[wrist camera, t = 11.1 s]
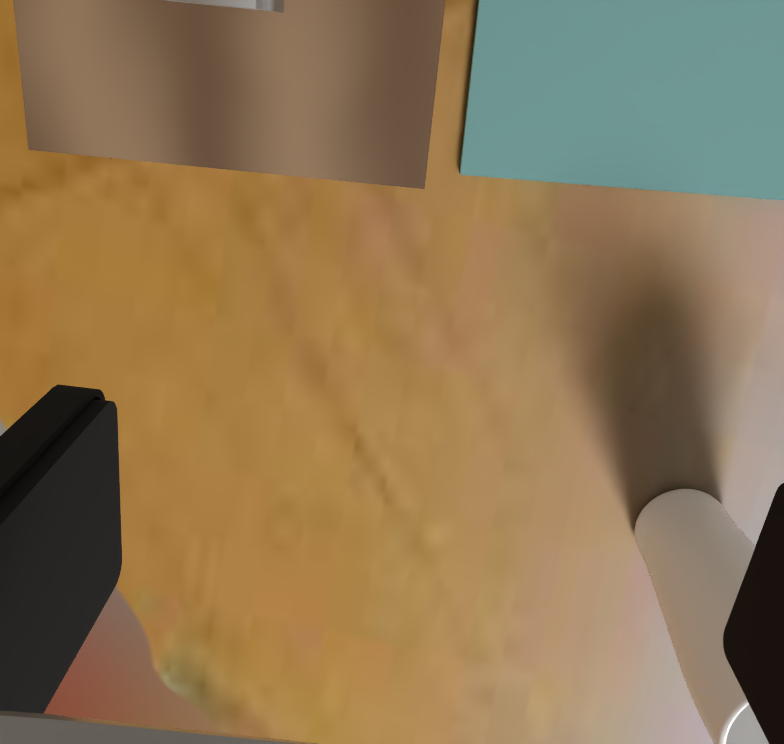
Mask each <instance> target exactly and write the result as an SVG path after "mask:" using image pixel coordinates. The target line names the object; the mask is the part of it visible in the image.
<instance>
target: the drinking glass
mask: <svg viewBox="0 0 784 744" xmlns="http://www.w3.org/2000/svg"><path fill="white" fill-rule="evenodd" d="M635 540H636V544H637V547H638V549H639V551H640V553H641V555H642V558H643V560H644V562H645V564H646V567H647V570H648V573H649V576H650V579H651V581H652V584H653V587H654V590H655V593H656V596H657V599H658V602H659V605H660V608H661V611H662V614H663V617H664V620H665V623H666V626H667V629H668V632H669V635H670V638H671V641H672V644H673V647H674V650H675V653H676V656H677V659H678V662H679V665H680V668H681V671H682V674H683V676H684V679H685V682H686V684H687V687H688V689H689V692H690V694H691V697H692V699H693V701H694V704H695V706H696V708H697V710H698V713H699V715H700V717H701V719H702V721H703V723H704V725H705V727H706V729H707V731H708V733H709V735H710V737H711V739H712V741H713V743H714V744H769V743H768V741H767V739H766V737H765V735H764V733H763V731H762V729H761V727H760V725H759V723H758V721H757V719H756V717H755V715H754V713H753V711H752V709H751V707H750V705H749V703H748V701H747V699H746V697H745V695H744V693H743V691H742V689H741V687H740V685H739V683H738V681H737V679H736V677H735V675H734V673H733V671H732V669H731V667H730V665H729V663H728V661H727V659H726V656H725V653H724V648H723V633H724V630H725V626H726V624H727V621H728V619H729V616H730V613H731V611H732V608H733V605H734V603H735V600H736V597H737V595H738V592H739V589H740V587H741V584H742V581H743V579H744V576H745V573H746V571H747V568H748V565H749V563H750V560H751V557H752V555H753V552H754V549H755V547H756V546H755V545H754V544H753V543H752V541H751V540H750V539H749V538H748V537H747V536H746V535H745V534H744V532H743V531H742V530H741V529H740V528H739V527H738V526H737V524H736V523H735V522H734V521H733V520H732V518H731V517H730V515H729V514H728V513H727V511H726V510H725V508H724V507H723V506H722V505H721V503H720V502H719V501H718V500H716V499H715V498H714V497H712V496H711V495H709V494H707V493H705V492H702V491H699V490H695V489H676V490H671V491H668V492H665V493H663V494H661V495H659V496H657V497H655V498H654V499H653V500H651V501H650V502H649V503H648V504H647V505H646V506H645V507H644V508H643V509H642V511H641V512H640V514H639V516H638V518H637V521H636V524H635Z"/></svg>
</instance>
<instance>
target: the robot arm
mask: <svg viewBox="0 0 784 744" xmlns="http://www.w3.org/2000/svg"><path fill="white" fill-rule="evenodd" d="M121 565H122V545H121V514H120V484H119V453H118V422H117V408H116V405H115V403H114V402H113V401H105V397H104V395H103V392H102V391H101V390H99V389H91V388H82V387H74V386H66V385H56V386H55V387H53V388H52V389H51V390H50V391H49V392H48V393H47V394H46V395H44V396H43V397H42V398H41V399H40V400H39V401H38V402H37V403H36V404H35V405H34V406H33V407H31V408H30V409H29V410H28V411H27V412H26V413H25V414H24V415H23V416H22V417H21V418H20V419H19V420H17V421H16V422H15V423H14V424H13V425H12V426H11V427H10V428H9V429H8V430H7V431H6V432H5V433H3V434H2V435H1V436H0V744H317V743H308V742H299V741H290V740H281V739H271V738H262V737H253V736H244V735H235V734H225V733H216V732H207V731H198V730H188V729H179V728H170V727H161V726H151V725H143V724H132V723H124V722H115V721H105V720H97V719H87V718H78V717H69V716H60V715H51V714H43V713H44V711H45V710H46V708H47V706H48V704H49V703H50V701H51V699H52V697H53V695H54V694H55V692H56V690H57V688H58V687H59V685H60V683H61V681H62V680H63V678H64V676H65V674H66V673H67V671H68V669H69V667H70V665H71V664H72V662H73V660H74V658H75V657H76V655H77V653H78V651H79V649H80V648H81V646H82V644H83V643H84V641H85V639H86V637H87V636H88V634H89V632H90V630H91V628H92V627H93V625H94V623H95V621H96V620H97V618H98V616H99V614H100V613H101V611H102V609H103V607H104V605H105V604H106V602H107V600H108V598H109V597H110V595H111V593H112V591H113V590H114V588H115V586H116V584H117V581H118V578H119V575H120V571H121ZM723 648H724V653H725V656H726V659H727V661H728V663H729V665H730V667H731V669H732V671H733V673H734V675H735V677H736V679H737V681H738V683H739V685H740V687H741V689H742V691H743V693H744V695H745V697H746V699H747V701H748V703H749V705H750V707H751V709H752V711H753V713H754V715H755V717H756V719H757V721H758V723H759V725H760V727H761V729H762V731H763V733H764V735H765V737H766V739H767V741H768V743H769V744H784V483H783V484H781V485H780V486H779V487H778V489H777V491H776V493H775V496H774V499H773V501H772V504H771V507H770V509H769V512H768V515H767V517H766V520H765V523H764V525H763V528H762V531H761V533H760V536H759V539H758V541H757V544H756V547H755V549H754V552H753V555H752V557H751V560H750V563H749V565H748V568H747V571H746V573H745V576H744V579H743V581H742V584H741V587H740V589H739V592H738V595H737V597H736V600H735V603H734V605H733V608H732V611H731V613H730V616H729V619H728V621H727V624H726V626H725V630H724V633H723Z"/></svg>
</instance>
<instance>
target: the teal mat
mask: <svg viewBox="0 0 784 744" xmlns="http://www.w3.org/2000/svg"><path fill="white" fill-rule="evenodd" d="M460 175H471V176H484V177H496V178H509V179H521V180H534V181H546V182H559V183H571V184H584V185H597V186H609V187H622V188H634V189H647V190H659V191H672V192H684V193H697V194H709V195H722V196H735V197H747V198H760V199H772V200H784V0H478V8H477V18H476V27H475V36H474V45H473V54H472V63H471V72H470V81H469V91H468V100H467V109H466V118H465V127H464V136H463V145H462V155H461V164H460Z"/></svg>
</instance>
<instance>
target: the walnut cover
mask: <svg viewBox="0 0 784 744" xmlns="http://www.w3.org/2000/svg"><path fill="white" fill-rule="evenodd" d="M13 1H14V11H15V21H16V31H17V41H18V50H19V60H20V70H21V80H22V89H23V99H24V109H25V119H26V128H27V138H28V148H29V150H36V151H46V152H56V153H67V154H77V155H87V156H97V157H107V158H117V159H127V160H137V161H147V162H158V163H168V164H178V165H188V166H198V167H208V168H218V169H228V170H238V171H249V172H259V173H269V174H279V175H289V176H299V177H309V178H319V179H329V180H340V181H350V182H360V183H370V184H380V185H390V186H400V187H410V188H420V189H424V188H425V179H426V170H427V161H428V152H429V143H430V134H431V125H432V116H433V107H434V98H435V89H436V80H437V71H438V62H439V53H440V44H441V35H442V26H443V17H444V7H445V0H13Z"/></svg>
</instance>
